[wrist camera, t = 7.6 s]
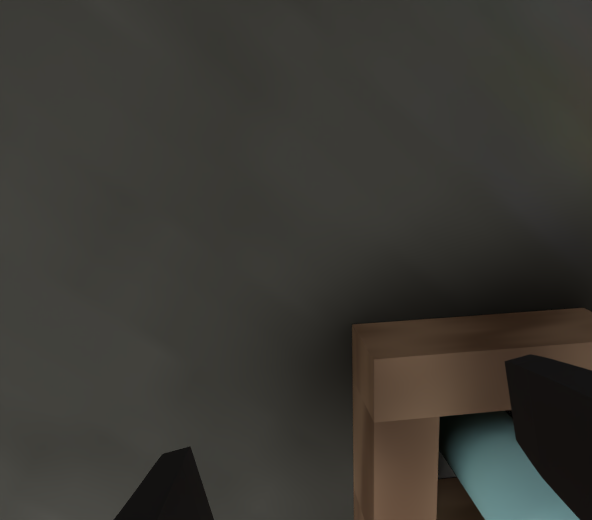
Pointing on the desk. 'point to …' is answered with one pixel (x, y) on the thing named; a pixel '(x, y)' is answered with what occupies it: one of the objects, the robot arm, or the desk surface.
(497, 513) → the peg
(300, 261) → the desk surface
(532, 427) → the robot arm
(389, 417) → the socket block
